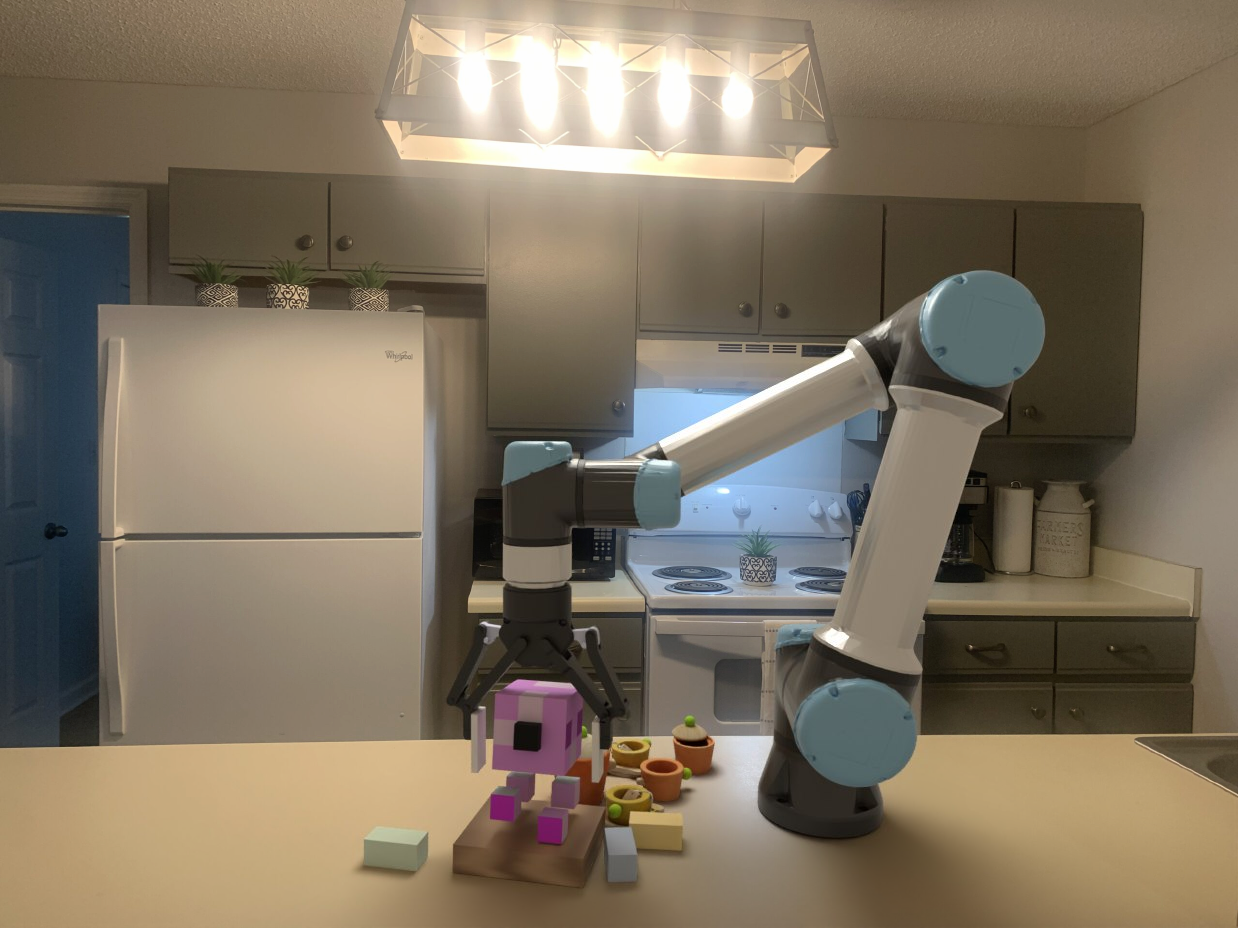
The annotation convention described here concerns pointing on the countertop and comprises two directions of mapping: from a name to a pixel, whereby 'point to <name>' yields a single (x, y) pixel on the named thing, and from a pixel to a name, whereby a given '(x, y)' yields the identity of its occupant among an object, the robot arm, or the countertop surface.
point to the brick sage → (396, 848)
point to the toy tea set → (642, 772)
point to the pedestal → (530, 846)
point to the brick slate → (620, 854)
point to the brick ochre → (657, 830)
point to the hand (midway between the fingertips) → (537, 772)
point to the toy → (537, 751)
